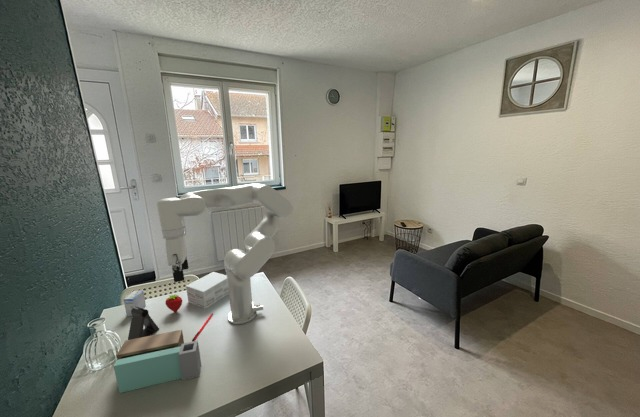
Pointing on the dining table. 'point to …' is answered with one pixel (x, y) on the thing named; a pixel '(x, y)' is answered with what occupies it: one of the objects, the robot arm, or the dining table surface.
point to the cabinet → (150, 344)
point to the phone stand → (141, 324)
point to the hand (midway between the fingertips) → (181, 274)
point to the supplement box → (207, 289)
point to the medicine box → (134, 301)
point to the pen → (202, 328)
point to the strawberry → (174, 302)
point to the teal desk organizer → (158, 367)
